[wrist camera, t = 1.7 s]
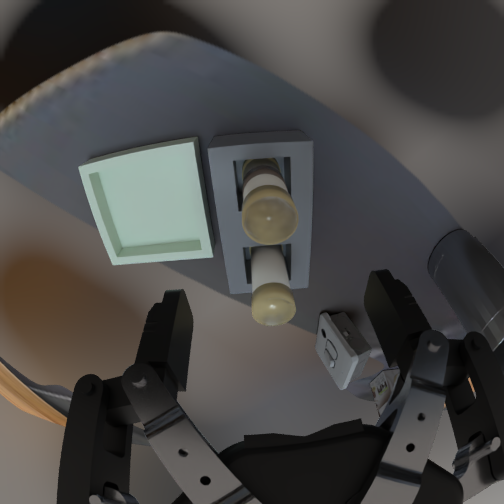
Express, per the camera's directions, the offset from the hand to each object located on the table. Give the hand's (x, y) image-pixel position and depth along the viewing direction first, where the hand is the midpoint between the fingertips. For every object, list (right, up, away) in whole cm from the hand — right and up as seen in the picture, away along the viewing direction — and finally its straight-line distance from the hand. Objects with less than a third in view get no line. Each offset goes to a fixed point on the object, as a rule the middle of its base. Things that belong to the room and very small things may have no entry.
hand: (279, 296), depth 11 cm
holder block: (0, +7, +16) cm, 18 cm away
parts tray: (-12, +7, +15) cm, 21 cm away
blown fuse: (0, +9, +13) cm, 16 cm away
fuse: (0, +3, +18) cm, 18 cm away
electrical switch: (+11, -10, +29) cm, 32 cm away
